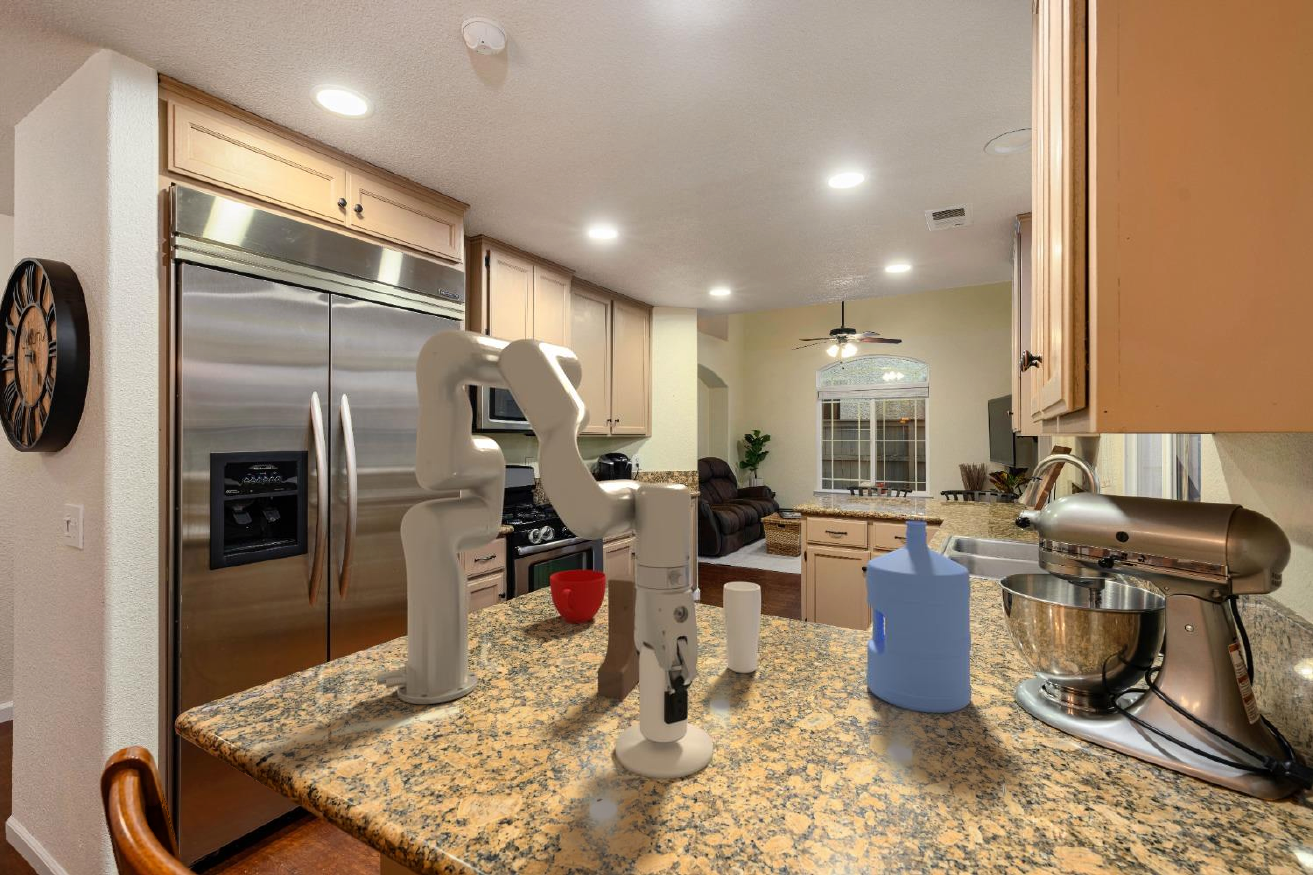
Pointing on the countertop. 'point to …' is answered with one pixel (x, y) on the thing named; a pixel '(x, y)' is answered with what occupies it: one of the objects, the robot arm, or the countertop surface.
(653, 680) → the can
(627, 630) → the wooden block
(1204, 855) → the countertop surface
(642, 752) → the white dome
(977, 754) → the countertop surface
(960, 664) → the water jug
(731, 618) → the drinking glass
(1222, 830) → the countertop surface
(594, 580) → the ceramic cup
